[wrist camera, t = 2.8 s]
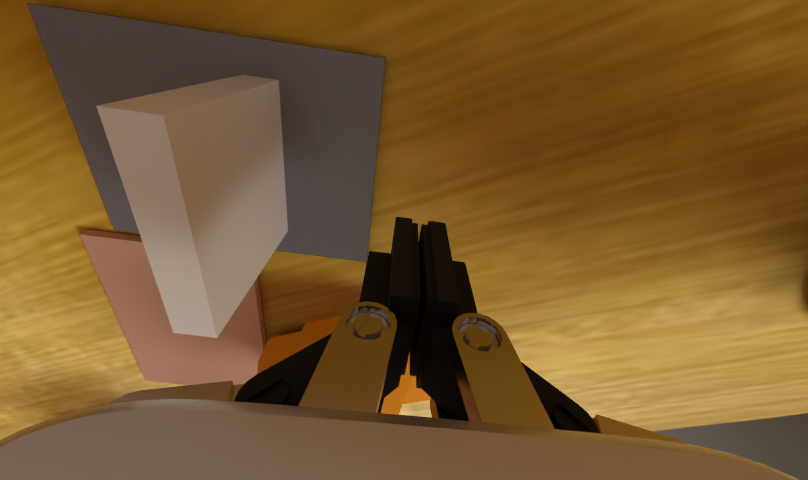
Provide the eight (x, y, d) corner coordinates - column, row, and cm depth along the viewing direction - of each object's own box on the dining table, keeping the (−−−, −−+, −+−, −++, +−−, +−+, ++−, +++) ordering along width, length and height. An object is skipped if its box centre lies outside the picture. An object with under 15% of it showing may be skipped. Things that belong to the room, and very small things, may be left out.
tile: (278, 80, 15) (163, 115, 8) (287, 230, 19) (217, 338, 12) (239, 74, 15) (89, 104, 8) (257, 227, 19) (169, 332, 12)
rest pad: (254, 250, 20) (250, 255, 20) (272, 387, 28) (269, 393, 27) (88, 229, 20) (79, 234, 19) (150, 374, 27) (145, 380, 27)
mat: (385, 57, 15) (384, 58, 14) (367, 258, 20) (366, 261, 20) (36, 4, 14) (26, 3, 14) (119, 226, 20) (114, 229, 19)
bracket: (316, 387, 28) (258, 592, 17) (273, 329, 24) (169, 542, 14) (439, 365, 26) (456, 581, 16) (413, 298, 22) (411, 520, 12)
